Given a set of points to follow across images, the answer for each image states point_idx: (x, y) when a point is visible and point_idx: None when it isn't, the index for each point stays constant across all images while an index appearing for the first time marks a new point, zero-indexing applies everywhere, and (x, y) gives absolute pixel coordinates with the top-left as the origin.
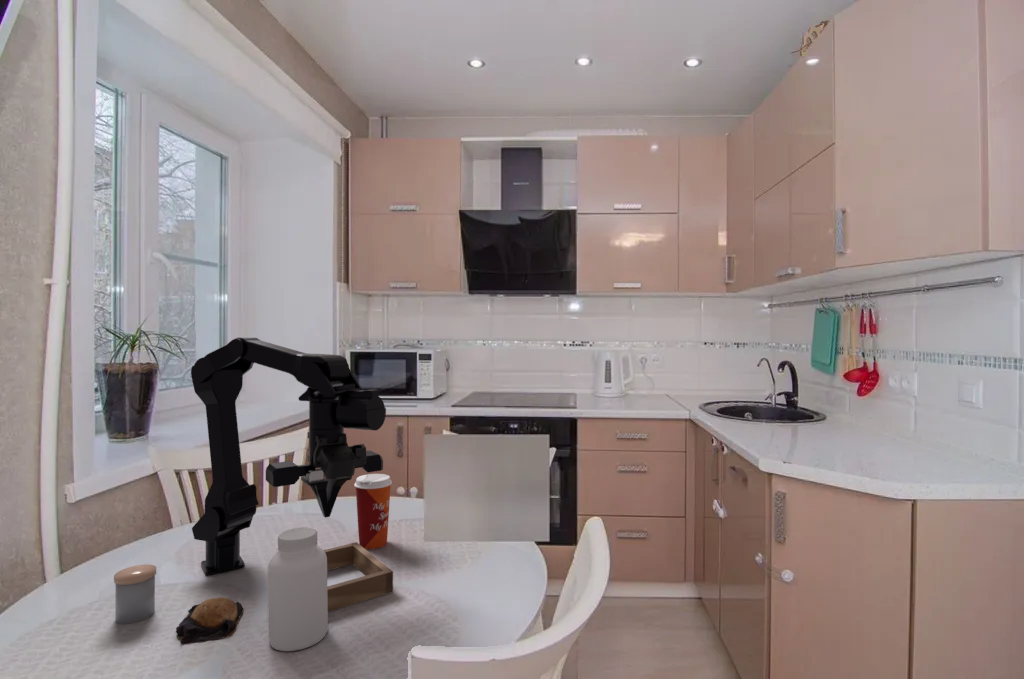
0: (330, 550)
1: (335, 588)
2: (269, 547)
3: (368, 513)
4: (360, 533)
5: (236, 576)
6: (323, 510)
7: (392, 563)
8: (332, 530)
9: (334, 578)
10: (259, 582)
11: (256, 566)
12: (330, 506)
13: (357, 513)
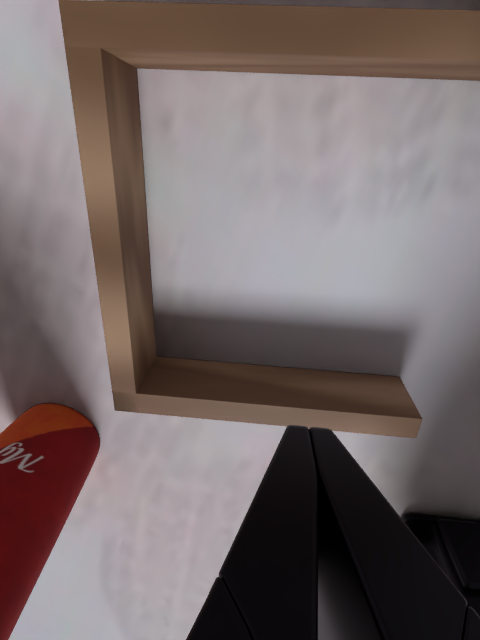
0: (219, 404)
1: (373, 10)
2: None
3: (8, 515)
4: (80, 470)
5: (447, 479)
6: (368, 478)
7: (40, 278)
8: (135, 560)
9: (243, 299)
10: (425, 414)
11: None
12: (296, 492)
13: (50, 548)
